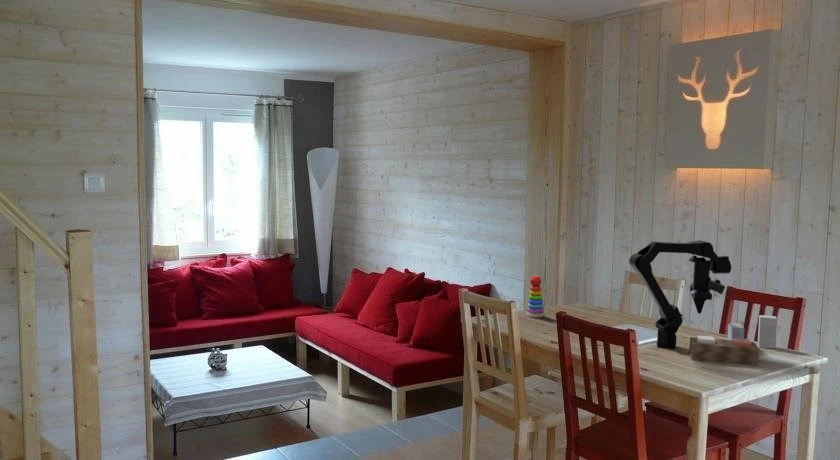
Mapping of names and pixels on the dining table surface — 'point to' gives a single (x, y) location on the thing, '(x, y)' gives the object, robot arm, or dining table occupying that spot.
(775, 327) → the skincare box
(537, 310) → the stacking toy
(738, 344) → the brick-red key
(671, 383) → the dining table surface
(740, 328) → the medicine box
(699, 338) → the ivory key
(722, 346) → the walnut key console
